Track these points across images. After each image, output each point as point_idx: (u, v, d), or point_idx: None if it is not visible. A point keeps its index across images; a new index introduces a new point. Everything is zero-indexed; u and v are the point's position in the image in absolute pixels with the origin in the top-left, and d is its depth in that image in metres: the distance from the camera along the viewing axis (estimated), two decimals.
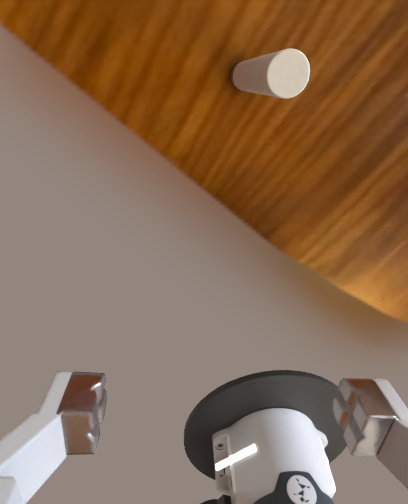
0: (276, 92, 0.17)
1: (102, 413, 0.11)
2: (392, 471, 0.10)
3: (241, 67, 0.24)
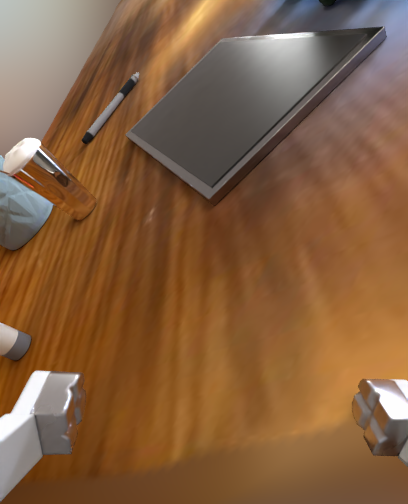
0: None
1: (80, 413, 0.11)
2: None
3: None
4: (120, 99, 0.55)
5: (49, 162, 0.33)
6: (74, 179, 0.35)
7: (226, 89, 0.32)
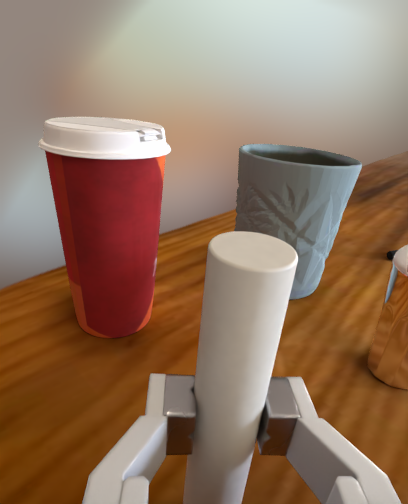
0: (231, 260, 0.08)
1: None
2: (298, 471, 0.10)
3: None
4: None
5: None
6: None
7: None
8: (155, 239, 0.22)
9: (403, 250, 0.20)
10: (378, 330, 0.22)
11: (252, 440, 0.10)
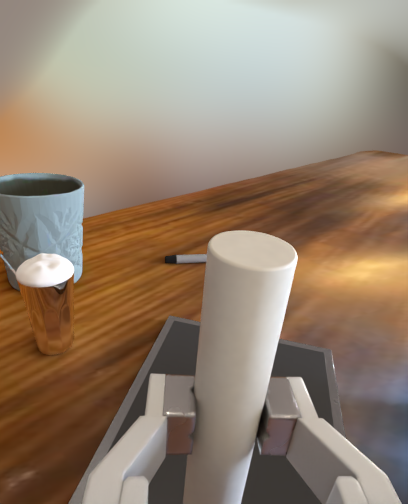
0: (231, 259, 0.08)
1: None
2: (298, 471, 0.10)
3: None
4: None
5: (54, 299, 0.28)
6: (66, 322, 0.30)
7: None
8: None
9: None
10: None
11: (252, 439, 0.10)
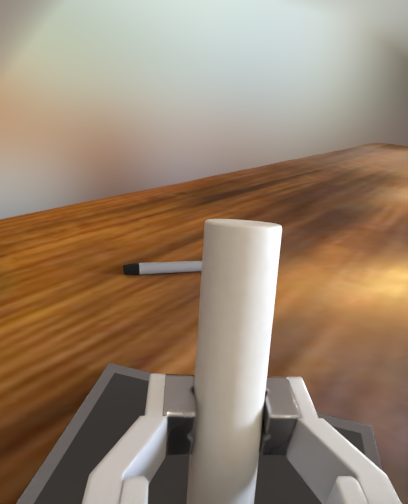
0: (223, 222, 0.09)
1: None
2: (298, 471, 0.10)
3: None
4: None
5: None
6: None
7: None
8: None
9: None
10: None
11: (254, 434, 0.10)
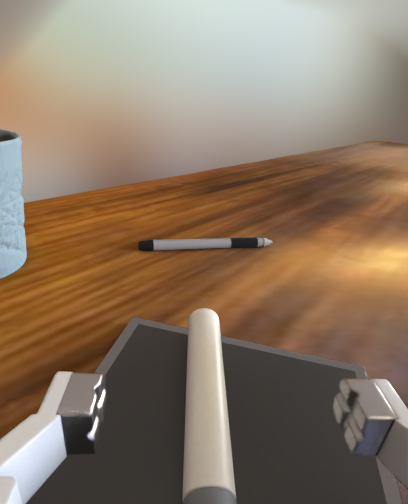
0: (195, 311, 0.24)
1: (102, 413, 0.11)
2: (392, 471, 0.10)
3: None
4: (223, 246, 0.40)
5: None
6: None
7: None
8: None
9: None
10: None
11: (220, 379, 0.18)
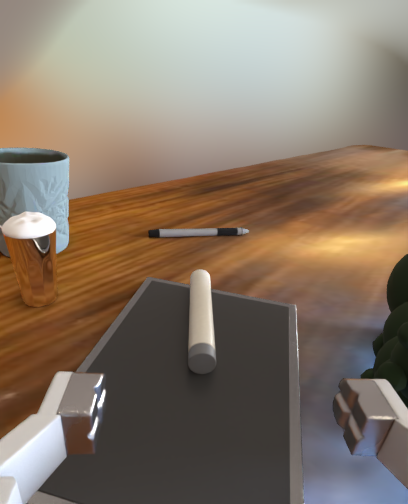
0: (199, 270, 0.37)
1: (102, 413, 0.11)
2: (392, 471, 0.10)
3: (189, 326, 0.30)
4: (211, 234, 0.53)
5: (37, 251, 0.31)
6: (49, 275, 0.33)
7: (201, 374, 0.26)
8: None
9: None
10: None
11: None
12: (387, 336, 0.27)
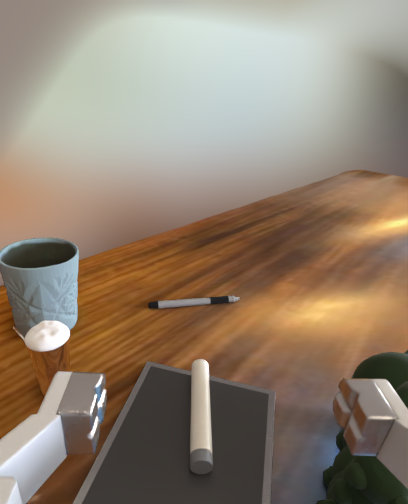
0: (205, 361, 0.43)
1: (102, 413, 0.11)
2: (392, 471, 0.10)
3: (194, 419, 0.35)
4: (205, 303, 0.59)
5: (54, 358, 0.37)
6: None
7: (191, 474, 0.32)
8: None
9: (36, 325, 0.38)
10: None
11: None
12: (344, 441, 0.33)
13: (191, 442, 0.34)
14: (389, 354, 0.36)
